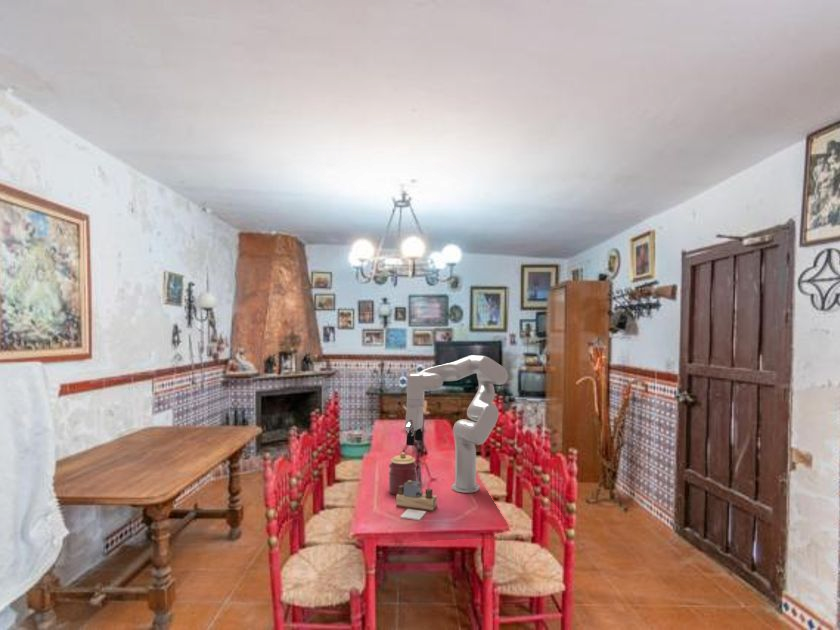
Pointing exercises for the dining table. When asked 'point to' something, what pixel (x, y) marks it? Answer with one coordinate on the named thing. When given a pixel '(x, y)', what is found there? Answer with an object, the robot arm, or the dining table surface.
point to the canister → (401, 471)
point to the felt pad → (413, 514)
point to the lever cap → (411, 488)
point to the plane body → (417, 500)
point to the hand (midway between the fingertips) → (414, 442)
